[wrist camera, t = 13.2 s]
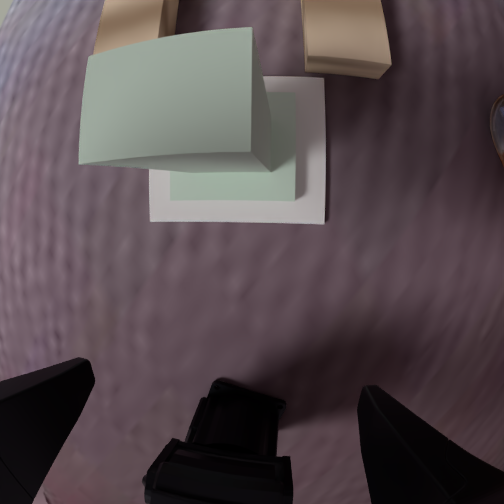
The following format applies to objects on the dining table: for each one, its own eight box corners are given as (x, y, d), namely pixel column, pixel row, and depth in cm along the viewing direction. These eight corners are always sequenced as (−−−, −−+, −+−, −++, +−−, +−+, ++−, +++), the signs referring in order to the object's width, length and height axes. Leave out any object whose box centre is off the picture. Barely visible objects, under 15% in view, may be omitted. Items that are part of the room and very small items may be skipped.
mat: (323, 223, 20) (324, 224, 19) (152, 221, 21) (150, 221, 21) (323, 79, 18) (323, 78, 17) (154, 87, 19) (152, 86, 18)
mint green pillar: (294, 200, 19) (312, 226, 7) (175, 199, 20) (46, 224, 8) (294, 96, 18) (306, -17, 6) (177, 101, 19) (64, 27, 6)
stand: (378, 79, 17) (391, 64, 14) (110, 90, 19) (89, 80, 16) (361, -24, 15) (369, -44, 12) (126, -8, 17) (111, -23, 14)
